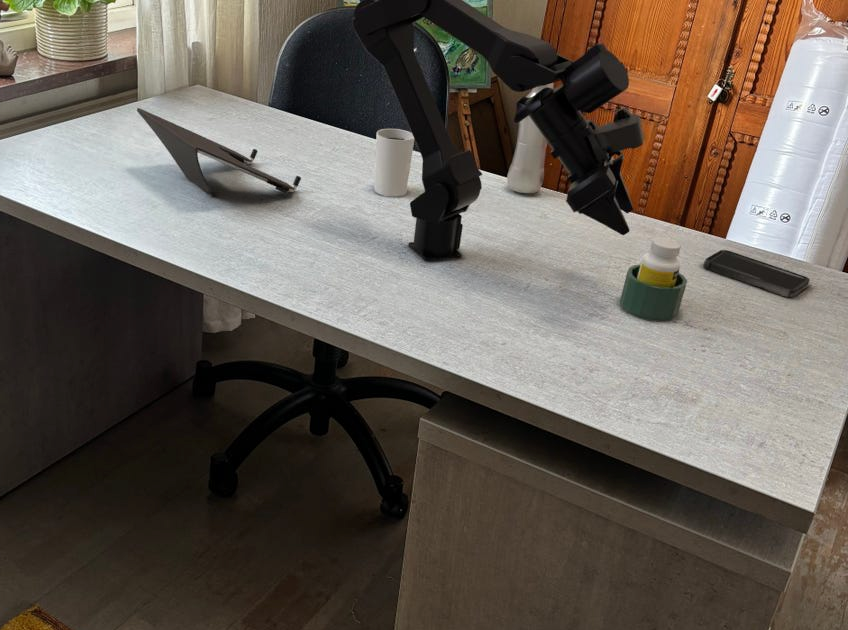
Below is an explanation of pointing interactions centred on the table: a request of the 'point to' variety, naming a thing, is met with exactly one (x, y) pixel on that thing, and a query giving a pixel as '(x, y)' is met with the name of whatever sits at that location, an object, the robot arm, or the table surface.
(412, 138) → the white cup
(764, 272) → the phone
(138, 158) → the table surface
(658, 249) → the supplement bottle
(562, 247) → the table surface
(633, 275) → the crock
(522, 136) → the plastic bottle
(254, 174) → the laptop stand
